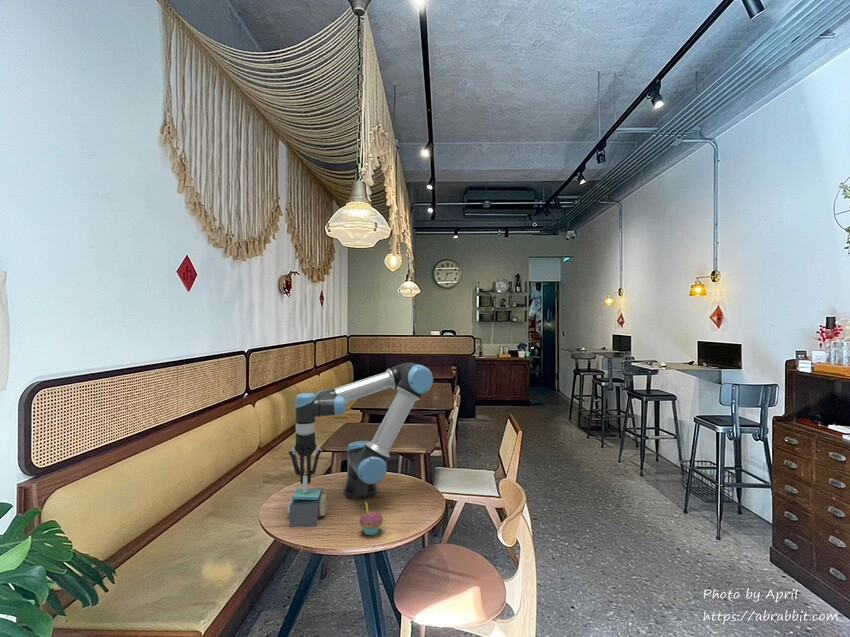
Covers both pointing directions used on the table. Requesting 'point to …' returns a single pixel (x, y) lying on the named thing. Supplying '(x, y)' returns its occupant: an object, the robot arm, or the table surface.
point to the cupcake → (370, 522)
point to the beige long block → (321, 505)
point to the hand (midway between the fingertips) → (305, 491)
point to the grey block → (304, 512)
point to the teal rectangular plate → (307, 494)
